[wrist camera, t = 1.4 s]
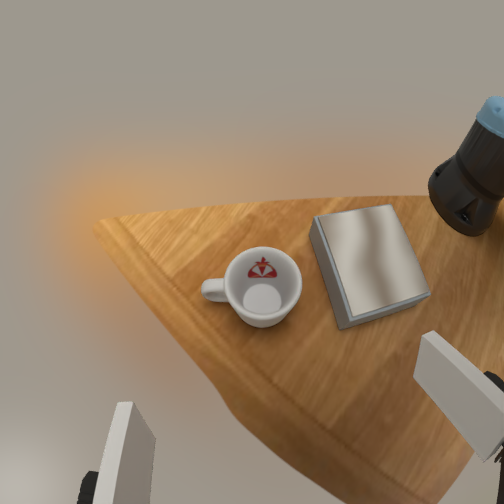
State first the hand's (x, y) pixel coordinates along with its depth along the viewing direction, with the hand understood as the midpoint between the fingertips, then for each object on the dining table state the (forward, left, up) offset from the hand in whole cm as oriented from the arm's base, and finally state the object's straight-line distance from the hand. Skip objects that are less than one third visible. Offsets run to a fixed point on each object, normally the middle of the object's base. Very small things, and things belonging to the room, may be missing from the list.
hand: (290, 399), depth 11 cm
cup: (0, -11, -23) cm, 25 cm away
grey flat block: (-16, -12, -22) cm, 30 cm away
